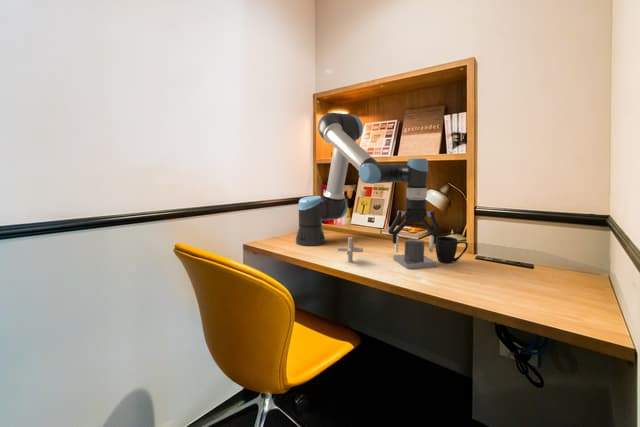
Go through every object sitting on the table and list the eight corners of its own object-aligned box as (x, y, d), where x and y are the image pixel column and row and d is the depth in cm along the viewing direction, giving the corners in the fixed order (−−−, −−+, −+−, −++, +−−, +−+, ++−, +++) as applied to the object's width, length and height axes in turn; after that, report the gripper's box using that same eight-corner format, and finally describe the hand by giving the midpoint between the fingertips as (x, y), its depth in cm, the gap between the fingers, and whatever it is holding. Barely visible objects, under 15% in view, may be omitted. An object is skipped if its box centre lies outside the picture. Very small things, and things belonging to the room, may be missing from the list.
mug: (465, 267, 121) (467, 243, 120) (432, 262, 127) (434, 239, 126) (467, 261, 128) (468, 238, 127) (436, 257, 134) (437, 235, 133)
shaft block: (393, 259, 131) (393, 242, 130) (419, 258, 134) (420, 240, 133) (407, 269, 120) (407, 249, 119) (435, 266, 122) (436, 247, 121)
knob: (406, 260, 123) (407, 242, 122) (403, 255, 130) (403, 238, 129) (425, 260, 123) (426, 242, 122) (420, 255, 130) (421, 238, 129)
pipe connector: (361, 266, 124) (362, 241, 122) (336, 264, 126) (336, 240, 124) (363, 258, 133) (363, 235, 132) (339, 257, 135) (340, 234, 134)
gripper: (385, 199, 120) (383, 253, 123) (452, 200, 119) (448, 254, 122) (382, 197, 127) (380, 248, 131) (445, 197, 126) (442, 249, 129)
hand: (413, 251), depth 126 cm, fingers open, 13 cm apart
